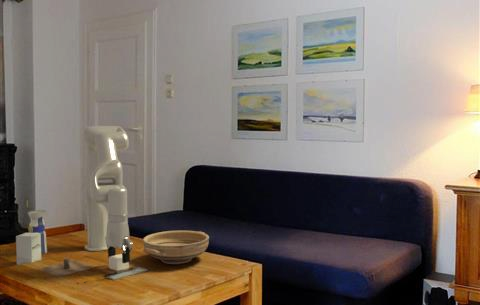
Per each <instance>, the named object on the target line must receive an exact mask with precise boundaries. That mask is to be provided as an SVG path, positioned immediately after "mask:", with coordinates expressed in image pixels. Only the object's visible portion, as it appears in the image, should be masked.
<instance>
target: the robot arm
mask: <svg viewBox="0 0 480 305" xmlns="http://www.w3.org/2000/svg"><path fill="white" fill-rule="evenodd" d="M82 137H83V142H84V145H85V147H86V149H87V150H86V151H87V175H88V178H89V183H88V184H87V185H86V184H85V186H84V196H85V202H86V215H87V216H86V218H87V244H85V245H84V250H85V251H89V252H98V251H99V252H100V251H105V250H106V251H107V256H108V257H107V258H108V260H109V257H110V256H114V255H117V254H116V253H117V252H116V249H121V251H122V253H121V254H122V263H127V262H129V263H130V261H131V254H130V253H131V250H132V249H133V248H132V247H133V242H132V240H130V228H129V224H128V223H129V220H128V219H129V217H128V190H127V188H126V186H124V185H123V181H124V180H123V174H124V173H123V164H122V162H121V161H120V160H119V159H118V154H117V152H118V151H126V150H128V148H129V146H130V142H129V136H128V134H127V132H126V131H125V130H124V129H123V127H122V126H119V125H92V126H87V127H85V128H84V129H83V131H82ZM104 180H106V181H104ZM107 180H112V181H107ZM105 205H107V208H106V206H105Z"/></svg>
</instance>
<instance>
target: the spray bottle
mask: <svg viewBox="0 0 480 305" xmlns="http://www.w3.org/2000/svg"><path fill="white" fill-rule="evenodd" d="M28 207H29V202H28V199H27V200H26V208H28ZM47 215H48V214H47V211H46V210H44V209H37V210H30V211H27V216H28V218H29V219H30V223H29V224H28V225H29V226H28V227H27V228H28V233H41V255H43V254H47V253H48V248H47V247H48V245H47V234H46V233H47V232H46V229H45V228H46V227H45V226H46V223H45V216H47Z"/></svg>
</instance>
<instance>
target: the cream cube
mask: <svg viewBox="0 0 480 305" xmlns="http://www.w3.org/2000/svg"><path fill="white" fill-rule="evenodd" d="M108 268H109V269H111V270H113V271H115V272H114V273H120V272H123V271H127V270H129V269H130V262H127V263H122V253H119V254H116V255H114V256H110V257H109V259H108Z"/></svg>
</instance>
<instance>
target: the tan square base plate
mask: <svg viewBox="0 0 480 305" xmlns="http://www.w3.org/2000/svg"><path fill="white" fill-rule="evenodd" d="M95 268H96V266H95V267H94V266H92V265H89V264H86V263H83V262H80V261H78V260H71V261H70V258H63V262H62V263H57V264H52V265H50V266H49V265H48V266H45V267H40V268H39V270H40V271H43V272H46V273H48V274H51V275H53V276H56V277H63V276H67V275H70V274H71V275H72V274H74V273H78V272H84V271H86V270H90V269H95Z"/></svg>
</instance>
